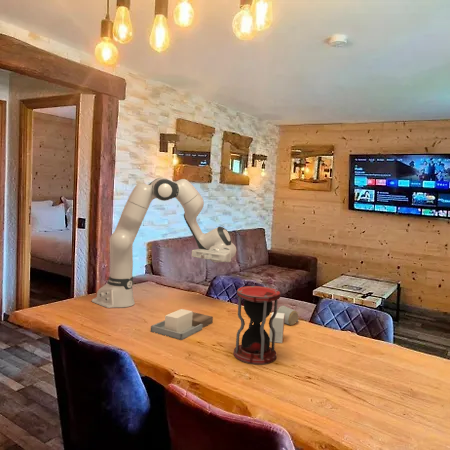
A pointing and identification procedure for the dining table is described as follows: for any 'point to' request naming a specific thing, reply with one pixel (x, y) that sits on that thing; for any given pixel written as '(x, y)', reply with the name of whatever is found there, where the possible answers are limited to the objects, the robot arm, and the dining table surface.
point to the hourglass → (256, 325)
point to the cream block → (179, 320)
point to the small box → (278, 327)
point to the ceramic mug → (288, 315)
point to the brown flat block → (201, 319)
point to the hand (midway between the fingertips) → (202, 257)
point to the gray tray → (161, 329)
